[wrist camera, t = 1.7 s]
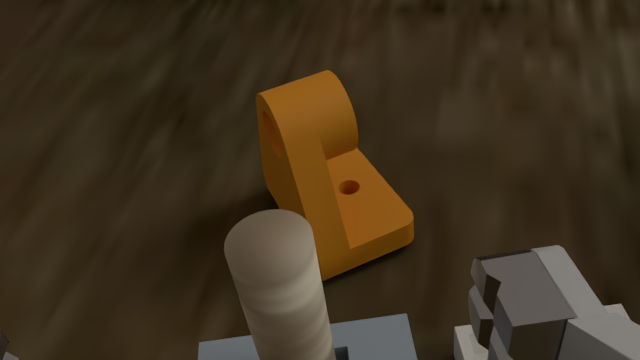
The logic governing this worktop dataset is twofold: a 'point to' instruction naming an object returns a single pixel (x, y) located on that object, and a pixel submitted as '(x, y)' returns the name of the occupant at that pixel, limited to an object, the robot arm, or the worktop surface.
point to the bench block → (335, 342)
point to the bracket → (328, 174)
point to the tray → (475, 356)
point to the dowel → (280, 286)
